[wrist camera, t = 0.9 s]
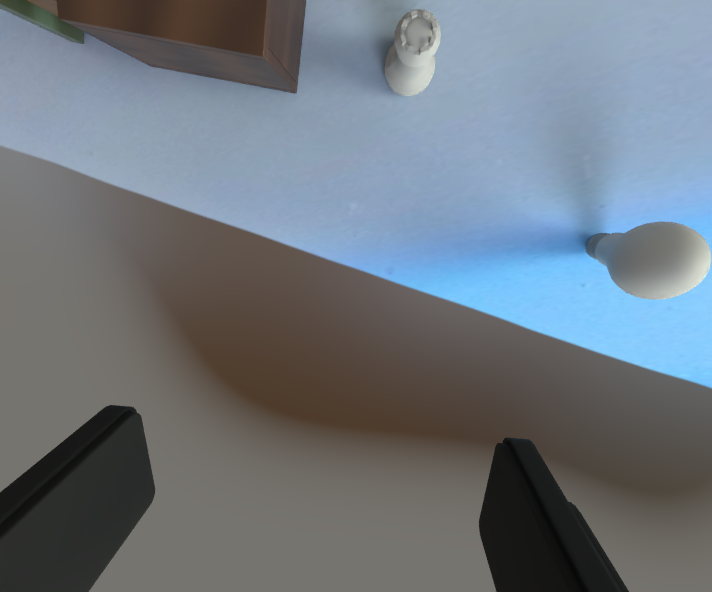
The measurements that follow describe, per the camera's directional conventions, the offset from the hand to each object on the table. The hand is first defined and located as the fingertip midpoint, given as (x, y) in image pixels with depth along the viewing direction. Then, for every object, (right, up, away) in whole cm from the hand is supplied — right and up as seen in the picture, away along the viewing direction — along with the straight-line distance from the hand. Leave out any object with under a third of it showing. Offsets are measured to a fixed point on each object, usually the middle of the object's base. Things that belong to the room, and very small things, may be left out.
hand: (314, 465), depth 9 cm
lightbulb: (+25, +10, +25) cm, 37 cm away
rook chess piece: (+6, +25, +22) cm, 34 cm away
